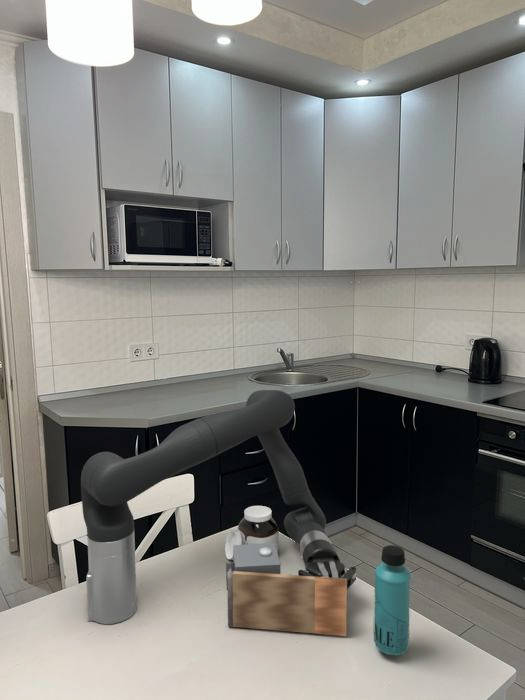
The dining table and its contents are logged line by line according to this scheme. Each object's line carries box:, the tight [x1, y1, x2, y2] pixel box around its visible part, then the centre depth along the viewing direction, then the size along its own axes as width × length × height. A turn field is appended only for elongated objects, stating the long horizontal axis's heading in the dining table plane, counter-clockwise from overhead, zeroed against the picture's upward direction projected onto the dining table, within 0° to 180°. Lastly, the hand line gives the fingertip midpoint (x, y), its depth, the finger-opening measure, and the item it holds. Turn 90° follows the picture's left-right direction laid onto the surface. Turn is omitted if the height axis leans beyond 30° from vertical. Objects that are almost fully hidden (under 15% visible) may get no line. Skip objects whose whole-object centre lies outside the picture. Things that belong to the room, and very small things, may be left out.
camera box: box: [225, 543, 281, 592], centre depth 108 cm, size 11×9×13 cm
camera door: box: [226, 571, 348, 637], centre depth 101 cm, size 23×1×11 cm, turn 82°
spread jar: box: [224, 505, 280, 561], centre depth 129 cm, size 12×11×12 cm
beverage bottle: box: [373, 544, 412, 656], centre depth 94 cm, size 6×7×20 cm
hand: (337, 599), depth 100 cm, fingers closed
